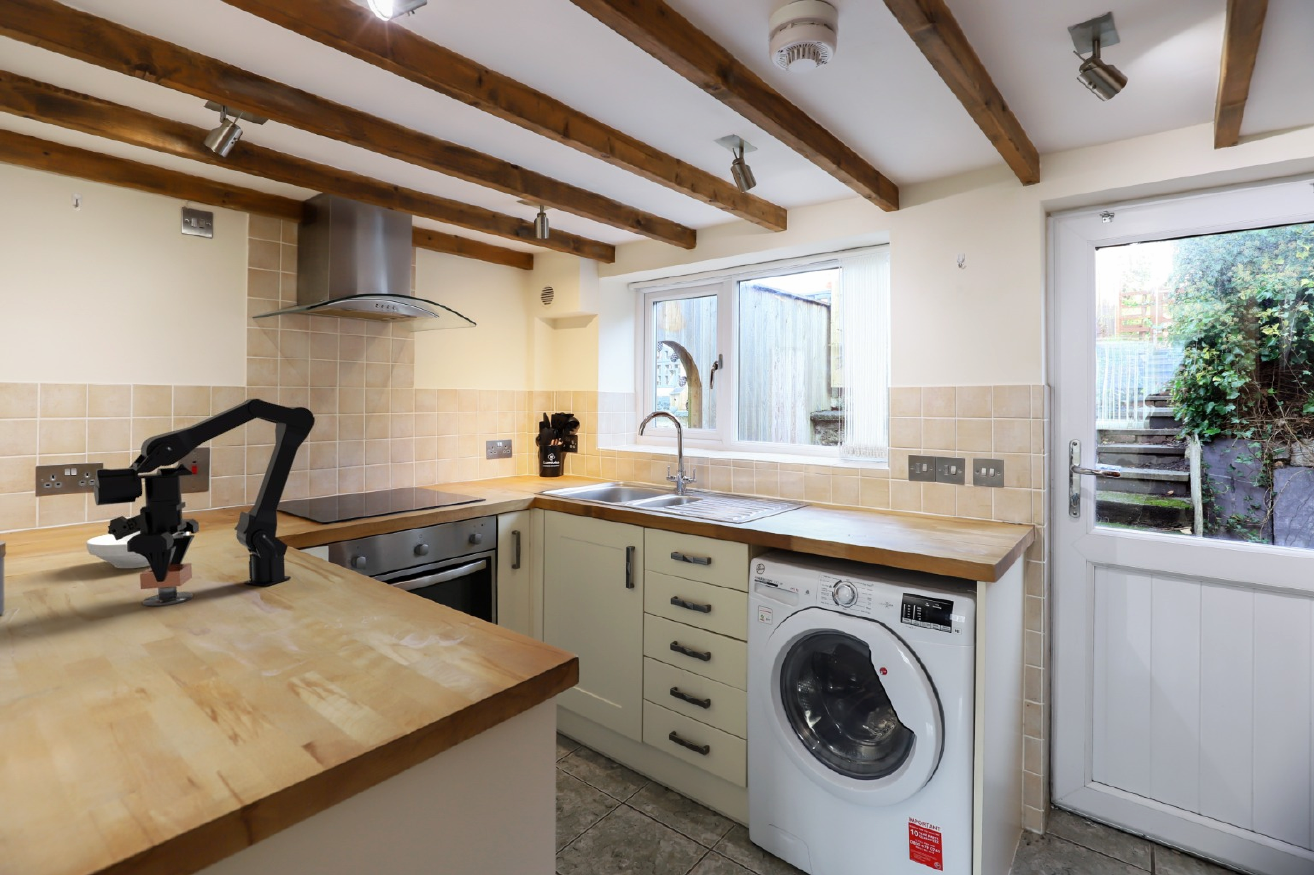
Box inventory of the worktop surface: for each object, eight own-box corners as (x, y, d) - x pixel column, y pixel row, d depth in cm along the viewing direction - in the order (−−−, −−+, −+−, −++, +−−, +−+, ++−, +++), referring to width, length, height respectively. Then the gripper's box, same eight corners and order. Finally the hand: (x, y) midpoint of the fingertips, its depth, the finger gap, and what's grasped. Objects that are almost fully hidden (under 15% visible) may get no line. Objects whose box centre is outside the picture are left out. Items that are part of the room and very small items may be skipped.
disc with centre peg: (202, 596, 134) (201, 576, 133) (162, 608, 126) (161, 587, 126) (172, 592, 136) (171, 573, 136) (132, 604, 128) (131, 584, 128)
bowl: (64, 574, 151) (62, 543, 150) (144, 554, 170) (142, 526, 170) (137, 577, 148) (135, 546, 147) (210, 557, 167) (208, 529, 166)
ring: (192, 577, 135) (191, 563, 135) (180, 586, 129) (179, 571, 129) (154, 580, 133) (153, 565, 133) (140, 589, 127) (139, 573, 127)
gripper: (135, 494, 136) (138, 569, 137) (90, 509, 118) (95, 594, 119) (198, 492, 140) (201, 564, 141) (163, 506, 122) (167, 588, 123)
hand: (167, 577), depth 131 cm, fingers closed on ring, 6 cm apart
